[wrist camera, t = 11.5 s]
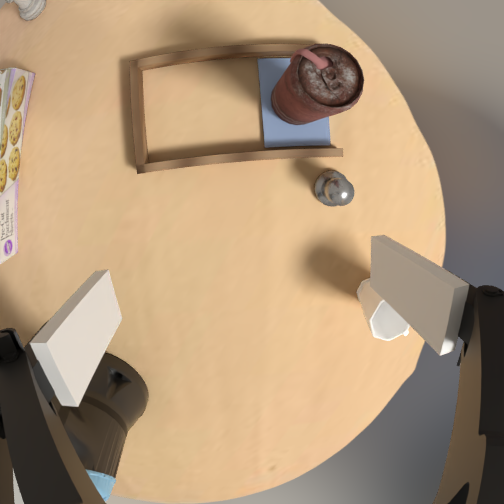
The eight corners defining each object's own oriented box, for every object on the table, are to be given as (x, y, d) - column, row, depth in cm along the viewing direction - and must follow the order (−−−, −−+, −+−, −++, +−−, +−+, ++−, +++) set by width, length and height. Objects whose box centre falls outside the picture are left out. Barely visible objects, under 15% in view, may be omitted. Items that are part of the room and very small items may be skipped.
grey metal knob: (315, 206, 38) (324, 212, 34) (313, 171, 36) (322, 173, 33) (347, 204, 38) (359, 210, 34) (347, 170, 36) (359, 172, 33)
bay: (142, 172, 35) (137, 173, 33) (134, 65, 31) (129, 61, 29) (337, 156, 36) (343, 156, 34) (328, 50, 31) (333, 46, 29)
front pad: (264, 147, 35) (264, 147, 35) (257, 59, 31) (257, 58, 31) (329, 145, 35) (330, 145, 35) (322, 59, 32) (323, 59, 31)
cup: (374, 258, 41) (402, 281, 33) (406, 300, 43) (433, 326, 36) (338, 292, 42) (358, 321, 34) (374, 330, 44) (395, 360, 37)
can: (283, 67, 32) (311, 25, 18) (328, 94, 33) (379, 68, 20) (258, 108, 33) (274, 83, 20) (305, 134, 34) (348, 126, 21)
